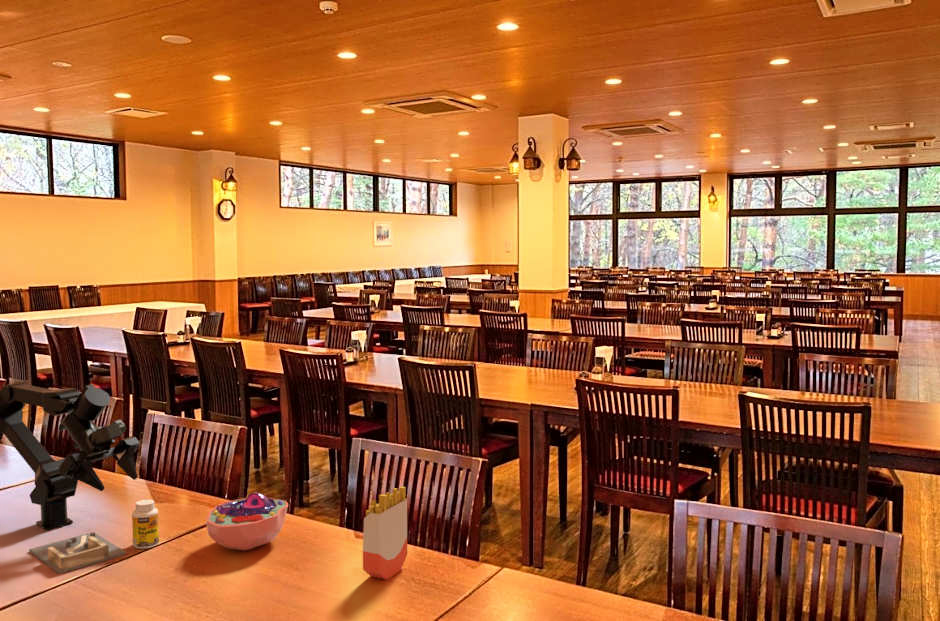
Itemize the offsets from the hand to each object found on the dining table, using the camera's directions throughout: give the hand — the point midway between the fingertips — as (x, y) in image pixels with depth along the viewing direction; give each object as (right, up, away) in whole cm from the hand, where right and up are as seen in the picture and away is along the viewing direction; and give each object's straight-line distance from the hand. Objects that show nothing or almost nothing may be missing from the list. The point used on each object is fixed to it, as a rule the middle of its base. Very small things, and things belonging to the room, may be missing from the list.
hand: (119, 484), depth 182 cm
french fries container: (+64, -15, -17) cm, 68 cm away
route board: (-6, -14, -7) cm, 17 cm away
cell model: (+30, -14, -2) cm, 34 cm away
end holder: (-5, -14, -10) cm, 18 cm away
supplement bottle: (+7, -14, -2) cm, 16 cm away
